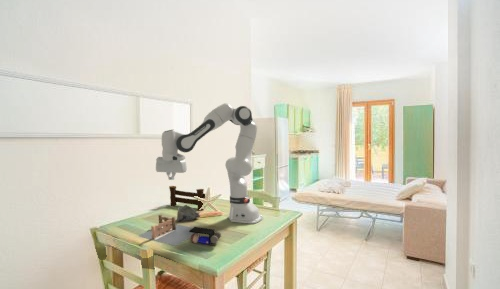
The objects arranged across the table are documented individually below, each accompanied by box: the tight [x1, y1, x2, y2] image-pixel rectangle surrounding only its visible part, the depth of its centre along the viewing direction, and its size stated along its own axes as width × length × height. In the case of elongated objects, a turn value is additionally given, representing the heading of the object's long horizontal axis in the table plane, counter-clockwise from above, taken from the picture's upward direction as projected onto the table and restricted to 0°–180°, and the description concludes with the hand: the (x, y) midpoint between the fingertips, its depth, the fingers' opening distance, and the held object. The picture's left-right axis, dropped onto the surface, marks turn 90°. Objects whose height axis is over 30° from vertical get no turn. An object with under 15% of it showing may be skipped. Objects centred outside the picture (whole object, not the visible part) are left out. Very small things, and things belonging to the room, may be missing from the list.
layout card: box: [138, 224, 194, 247], centre depth 140 cm, size 28×22×1 cm
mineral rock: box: [176, 204, 201, 222], centre depth 160 cm, size 13×11×10 cm
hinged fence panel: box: [150, 220, 172, 239], centre depth 138 cm, size 13×2×6 cm, turn 149°
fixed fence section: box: [158, 214, 176, 230], centre depth 147 cm, size 12×2×7 cm, turn 62°
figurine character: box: [189, 226, 222, 246], centre depth 127 cm, size 7×8×15 cm
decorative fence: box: [168, 185, 206, 211], centre depth 188 cm, size 34×6×15 cm, turn 63°
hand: (171, 179), depth 152 cm, fingers closed
